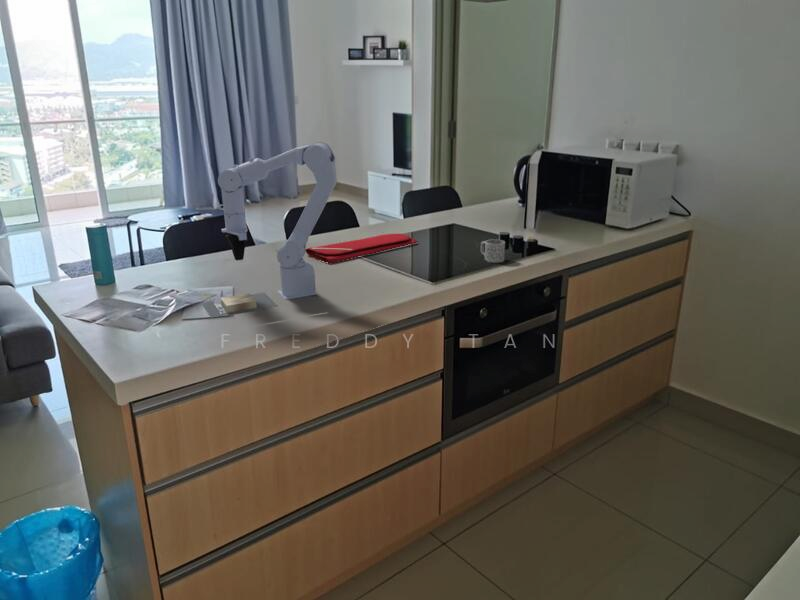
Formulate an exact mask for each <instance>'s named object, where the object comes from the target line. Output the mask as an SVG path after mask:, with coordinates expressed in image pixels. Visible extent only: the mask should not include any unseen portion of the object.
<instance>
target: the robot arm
mask: <svg viewBox="0 0 800 600" xmlns="http://www.w3.org/2000/svg"><path fill="white" fill-rule="evenodd" d="M292 164H296V165H299V166H304V165H306V167H307V168H308V169H309V170H310V171H311V172H312V174H313V176H314V178H315V182H316V185H315V187H314V189H313V191H312V193H311V195H310V196H309V199H308V201H307V202H306V205H305V207H304V208H303V211H302V213H301V214H300V217H299V219H298V221H297V222H296V225H295V227H294V228H293V230H292V233H291V234H290V236H289V237H288V239H287V241H286V242H285V243H284V245H283V246H281V248H279V249H278V251H277V252H276V253H277V254H276V259H277V262H278V263H279V270H280V271H279V274H280V285H281V289H279V290H277V293H278V294H279V295H280V296H281V297H282V298H283V299H284V300H291V299H292V300H293V299H297V298H303V297H308V296H309V297H312V296H316V295H317V294H318V293H317V289H316V287H317V286H316V275H315V274H316V273H315V268H314V266H313V264H312V263H311V262H306V261H305V259H304V256H305V255H306V249H307V248H306V247H307V242H308V241H309V238H310V236H311V234H312V232H313V230H314V228H315V226H316V224H317V222H318V220H319V218H320V216H321V214H322V212H323V211H324V209H325V206H326V204H327V202H328V200H329V198H330V197H331V195H332V193H333V191H334V189H335V187H336V185H337V180H338V179H337V172H336V170H337V169H336V157H335V154H334V152H333V150H332V148H331V146H330V145H329V144H327V143H325V142H324V141H323V142H321V141H319V142H315V143H314V144H307V145H302V146H298V147H294V148H293V149H290V150H288V151H285V152H282V153H281V154H278V155H276V156H273V157H270V158H268V159H267V160H264V159H262V158H259V157H256V158H255V157H253V156H252V157H251V158H248V161H246V162H243V163H241V164H237V163H236V164H234V165H232V167H230V168H228V169H225V170H223V171H221V172H220V173H219V175H218V177H217V185H218V186H219V187H220V189H221V195H222V198H221V199H222V206H223V217H224V224H225V225H224V226H225V227H224V228H221V232H222V233H227V234H226V235H225V238H226V240H227V241H228V244H229V245H230V248H231V252H232V255H233V257H234V260H235V261H243V260H244V256H245V251H246V250H245V249H246V246H247V242H248V240H249V236H248V235H247V232H248V226H247V218H246V209H245V208H246V207H245V196H244V187H243V186H249V185H252V184H255V183H257V182H259V181H261V180H265V179H267V178H268V176H269V173H270V172H272V171H274V170H278V169H282V168H283V167H286V166H289V165H292Z"/></svg>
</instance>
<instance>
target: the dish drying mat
mask: <svg viewBox="0 0 800 600" xmlns="http://www.w3.org/2000/svg"><path fill="white" fill-rule="evenodd" d="M416 242H418V240H417V239H414V238H411V236H409V235H407V234H403V233H388V234H387V233H386V234H380V235H376V236H370V237H365V238H360V239H355V240H348V241H343V242H337V243H331V244H325V245H320V246H314V247H313V246H312V247H307V248H306V251H305V254H307V256H308V257H310V258H311V257H313V258H315V259H314V260H316V259H318V260H317V261H319V260H321V261H320V262H322V261H324V262H328V264H327V265H331V264H330V263H333V264H335V263H334V262H337V263H339V262H338V261H342V262H344V261H343V260H347V259H351V258H355V257H358V256H361V255H367V254H372V253H376V252H380V251H384V250H388V249H392V248H396V247H400V246H405V245H408V244H412V243H416ZM418 243H419V242H418ZM313 258H312V259H313ZM347 261H348V260H347ZM324 262H323V263H324Z"/></svg>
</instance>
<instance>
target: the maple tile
mask: <svg viewBox="0 0 800 600" xmlns="http://www.w3.org/2000/svg"><path fill="white" fill-rule="evenodd" d="M251 295H252V294H250V293H243V294H238V295H232V296H226V297H220V299H219V300H221V305H222V307H223V308H224V309H225V311H226V312H227V313H230V312H235V311H241V310H247V309H252V308H257V305H256V300H255V299H254V298H253V297H252V296H251Z"/></svg>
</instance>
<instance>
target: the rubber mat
mask: <svg viewBox="0 0 800 600" xmlns="http://www.w3.org/2000/svg"><path fill="white" fill-rule="evenodd" d="M250 295H251V296H252V297H253V298H254V299H255V300H256V305H257V308H252V309H247V310H241V311H235V312H230V313H227V312H226V313H223V311H221V312H222V314H220V313H219V310H218V309H217V308H216V306H215V305H214V302H213V301H214V300H211V301H205V303H203V302H201V303H202V304H201V306H202V307H203V309H204V310H205V311H206V312H207V315H208V316H209V317H210V318H211V319H212V318H219V317H224V316H225V317H226V316H228V315H235V314H241V313H242V314H243V313H246V312H252V311H253V312H254V311H258V310H263V309H269V308H274V307H278V306H279V305H278V304H277V303H275V301H274V300H273V299H272V298H271V297H269V296H268V294H266V292H259V293H253V294H250Z"/></svg>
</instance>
